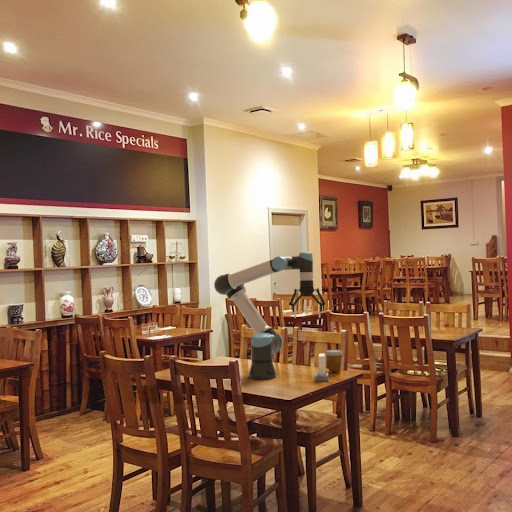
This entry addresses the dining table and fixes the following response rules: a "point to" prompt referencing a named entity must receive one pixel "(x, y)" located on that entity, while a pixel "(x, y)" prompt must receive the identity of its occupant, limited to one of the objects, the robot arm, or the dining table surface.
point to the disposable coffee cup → (334, 360)
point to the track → (322, 377)
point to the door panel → (321, 365)
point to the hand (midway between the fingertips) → (307, 317)
